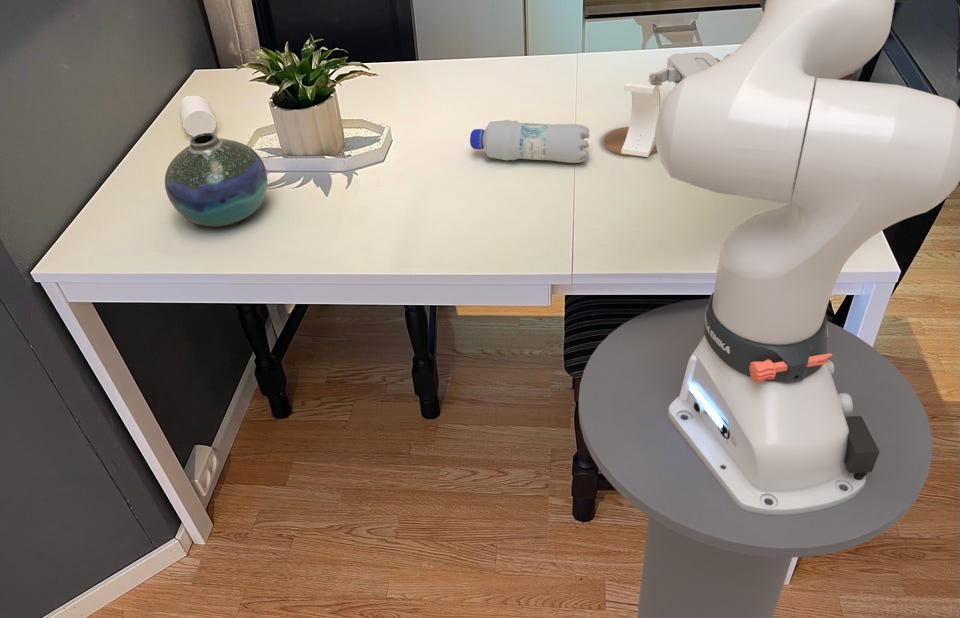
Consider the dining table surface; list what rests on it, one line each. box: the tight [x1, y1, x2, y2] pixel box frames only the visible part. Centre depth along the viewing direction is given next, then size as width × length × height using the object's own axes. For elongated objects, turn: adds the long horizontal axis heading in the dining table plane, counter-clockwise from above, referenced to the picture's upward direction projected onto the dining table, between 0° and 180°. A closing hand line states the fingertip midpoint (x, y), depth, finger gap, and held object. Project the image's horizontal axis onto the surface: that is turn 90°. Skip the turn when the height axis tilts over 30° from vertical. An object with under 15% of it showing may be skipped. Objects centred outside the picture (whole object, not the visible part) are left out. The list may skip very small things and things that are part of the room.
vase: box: [164, 132, 269, 227], centre depth 123 cm, size 15×15×13 cm
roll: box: [178, 95, 217, 138], centre depth 151 cm, size 6×12×6 cm, turn 23°
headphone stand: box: [621, 82, 661, 158], centre depth 130 cm, size 5×6×12 cm
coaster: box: [603, 126, 657, 157], centre depth 136 cm, size 10×10×1 cm
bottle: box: [469, 119, 590, 164], centre depth 132 cm, size 7×7×20 cm
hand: (659, 91), depth 131 cm, fingers open, 8 cm apart
